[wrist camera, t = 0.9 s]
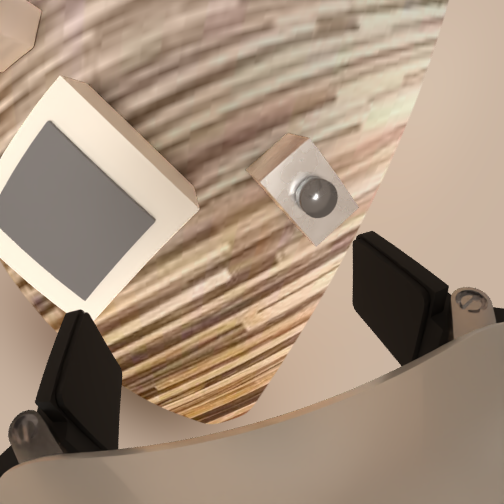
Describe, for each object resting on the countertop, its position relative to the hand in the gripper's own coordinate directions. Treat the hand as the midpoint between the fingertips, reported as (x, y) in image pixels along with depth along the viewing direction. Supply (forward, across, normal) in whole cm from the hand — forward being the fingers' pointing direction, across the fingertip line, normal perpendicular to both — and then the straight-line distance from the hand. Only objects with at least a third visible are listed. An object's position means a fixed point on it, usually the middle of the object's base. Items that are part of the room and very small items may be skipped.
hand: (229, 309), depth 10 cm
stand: (+23, +11, -1) cm, 26 cm away
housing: (+23, -10, +3) cm, 26 cm away
